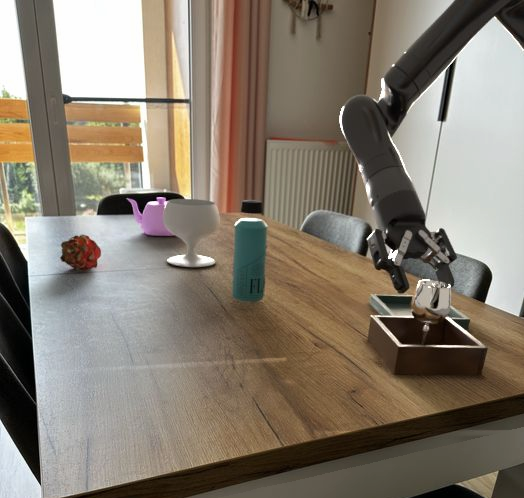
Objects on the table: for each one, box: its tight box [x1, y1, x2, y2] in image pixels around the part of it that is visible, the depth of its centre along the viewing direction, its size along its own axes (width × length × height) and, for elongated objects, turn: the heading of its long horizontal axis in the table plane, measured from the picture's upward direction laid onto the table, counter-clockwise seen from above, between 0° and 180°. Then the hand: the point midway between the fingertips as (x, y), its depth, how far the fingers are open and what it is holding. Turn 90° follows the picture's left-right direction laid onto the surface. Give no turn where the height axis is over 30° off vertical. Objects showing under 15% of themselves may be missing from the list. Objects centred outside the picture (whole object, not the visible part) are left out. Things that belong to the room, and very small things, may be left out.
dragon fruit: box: [59, 234, 102, 272], centre depth 118 cm, size 8×8×12 cm
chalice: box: [163, 198, 221, 268], centre depth 128 cm, size 14×14×15 cm
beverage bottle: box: [231, 199, 269, 303], centre depth 98 cm, size 6×7×20 cm
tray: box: [369, 293, 471, 331], centre depth 101 cm, size 15×15×2 cm
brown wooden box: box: [367, 314, 489, 376], centre depth 81 cm, size 14×14×4 cm
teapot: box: [125, 196, 175, 237], centre depth 162 cm, size 13×20×11 cm
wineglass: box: [411, 279, 452, 345], centre depth 80 cm, size 6×6×12 cm
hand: (427, 289), depth 79 cm, fingers open, 8 cm apart
